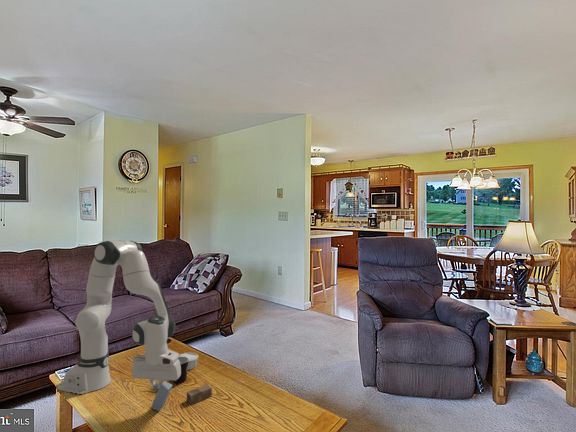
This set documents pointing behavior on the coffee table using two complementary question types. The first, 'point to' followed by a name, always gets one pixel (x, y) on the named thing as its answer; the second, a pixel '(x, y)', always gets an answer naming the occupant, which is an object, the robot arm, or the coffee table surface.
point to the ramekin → (190, 359)
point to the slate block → (161, 396)
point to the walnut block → (199, 394)
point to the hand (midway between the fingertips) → (156, 388)
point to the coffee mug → (182, 370)
